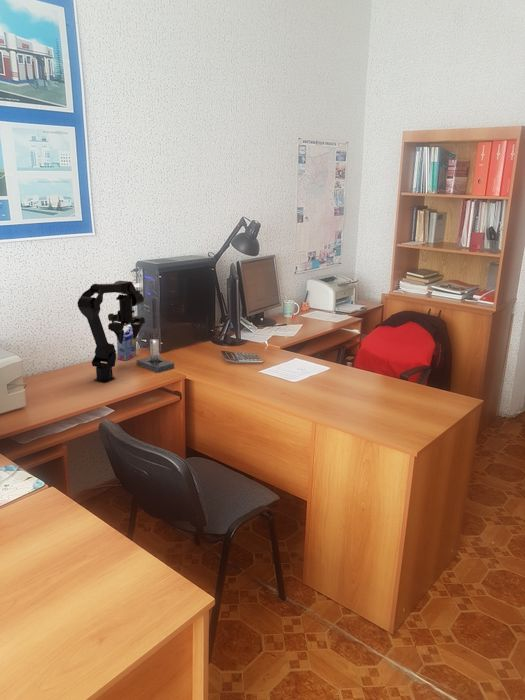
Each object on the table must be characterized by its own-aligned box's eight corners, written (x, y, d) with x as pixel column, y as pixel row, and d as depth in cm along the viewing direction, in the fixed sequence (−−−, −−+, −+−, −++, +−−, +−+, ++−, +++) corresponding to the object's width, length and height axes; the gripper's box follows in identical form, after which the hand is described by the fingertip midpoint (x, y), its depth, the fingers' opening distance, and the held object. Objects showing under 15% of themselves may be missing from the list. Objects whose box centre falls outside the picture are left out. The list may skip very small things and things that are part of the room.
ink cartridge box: (127, 360, 271) (125, 332, 267) (117, 359, 273) (115, 331, 269) (137, 355, 280) (135, 327, 276) (127, 354, 282) (126, 326, 278)
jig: (156, 372, 255) (156, 367, 254) (136, 364, 265) (136, 359, 265) (174, 368, 262) (174, 363, 261) (154, 360, 272) (154, 355, 272)
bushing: (155, 368, 261) (154, 341, 257) (149, 367, 263) (148, 340, 259) (161, 366, 264) (160, 339, 261) (154, 364, 266) (153, 338, 262)
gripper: (126, 302, 264) (128, 334, 269) (97, 310, 249) (100, 343, 253) (144, 305, 259) (146, 337, 264) (116, 313, 244) (118, 347, 248)
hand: (127, 341), depth 257 cm, fingers open, 9 cm apart
